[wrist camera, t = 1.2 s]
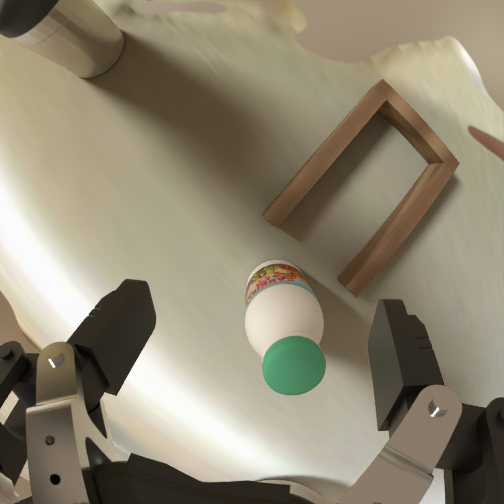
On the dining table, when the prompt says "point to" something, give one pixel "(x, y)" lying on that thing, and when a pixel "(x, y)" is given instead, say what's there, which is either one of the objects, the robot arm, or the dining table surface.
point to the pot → (300, 491)
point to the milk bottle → (285, 327)
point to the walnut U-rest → (412, 203)
